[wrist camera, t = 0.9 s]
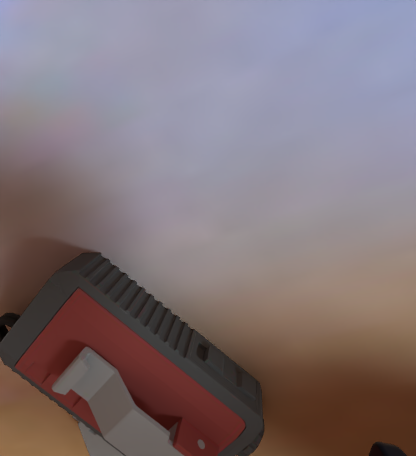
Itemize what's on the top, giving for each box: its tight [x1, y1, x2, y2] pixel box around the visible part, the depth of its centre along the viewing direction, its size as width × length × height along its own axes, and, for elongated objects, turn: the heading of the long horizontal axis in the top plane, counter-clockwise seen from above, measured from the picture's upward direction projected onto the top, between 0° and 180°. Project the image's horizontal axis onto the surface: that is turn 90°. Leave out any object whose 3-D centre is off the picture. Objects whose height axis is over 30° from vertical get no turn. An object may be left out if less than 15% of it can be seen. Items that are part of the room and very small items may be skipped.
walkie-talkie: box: [0, 253, 264, 456], centre depth 17 cm, size 9×4×20 cm
